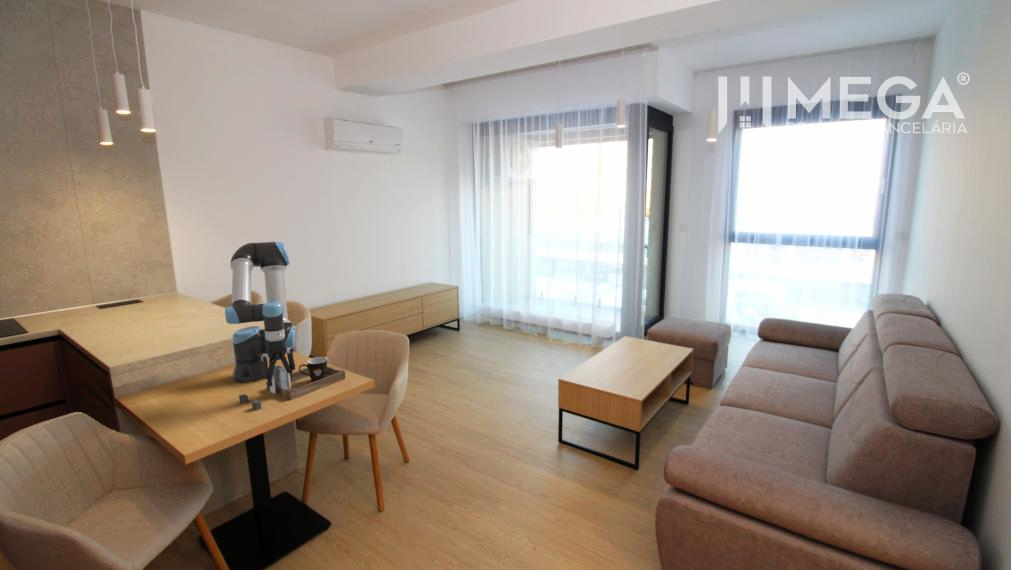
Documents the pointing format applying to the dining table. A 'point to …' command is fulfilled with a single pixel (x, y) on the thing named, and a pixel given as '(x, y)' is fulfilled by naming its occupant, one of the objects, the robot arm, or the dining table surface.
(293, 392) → the brown frame
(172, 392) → the dining table surface
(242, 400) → the block
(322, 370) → the coffee mug
